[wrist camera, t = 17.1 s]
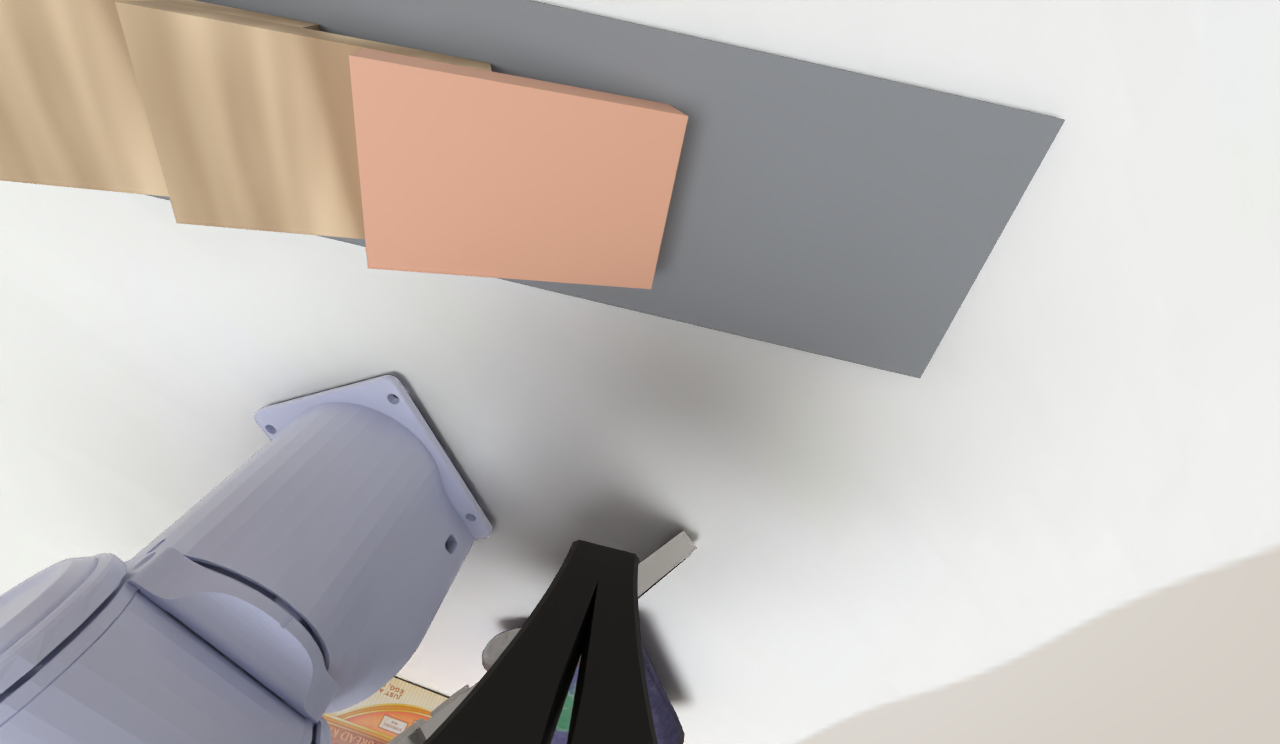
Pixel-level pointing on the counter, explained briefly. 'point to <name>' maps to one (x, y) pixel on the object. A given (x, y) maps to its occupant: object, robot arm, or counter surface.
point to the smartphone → (648, 576)
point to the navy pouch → (661, 708)
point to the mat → (764, 173)
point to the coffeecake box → (383, 714)
